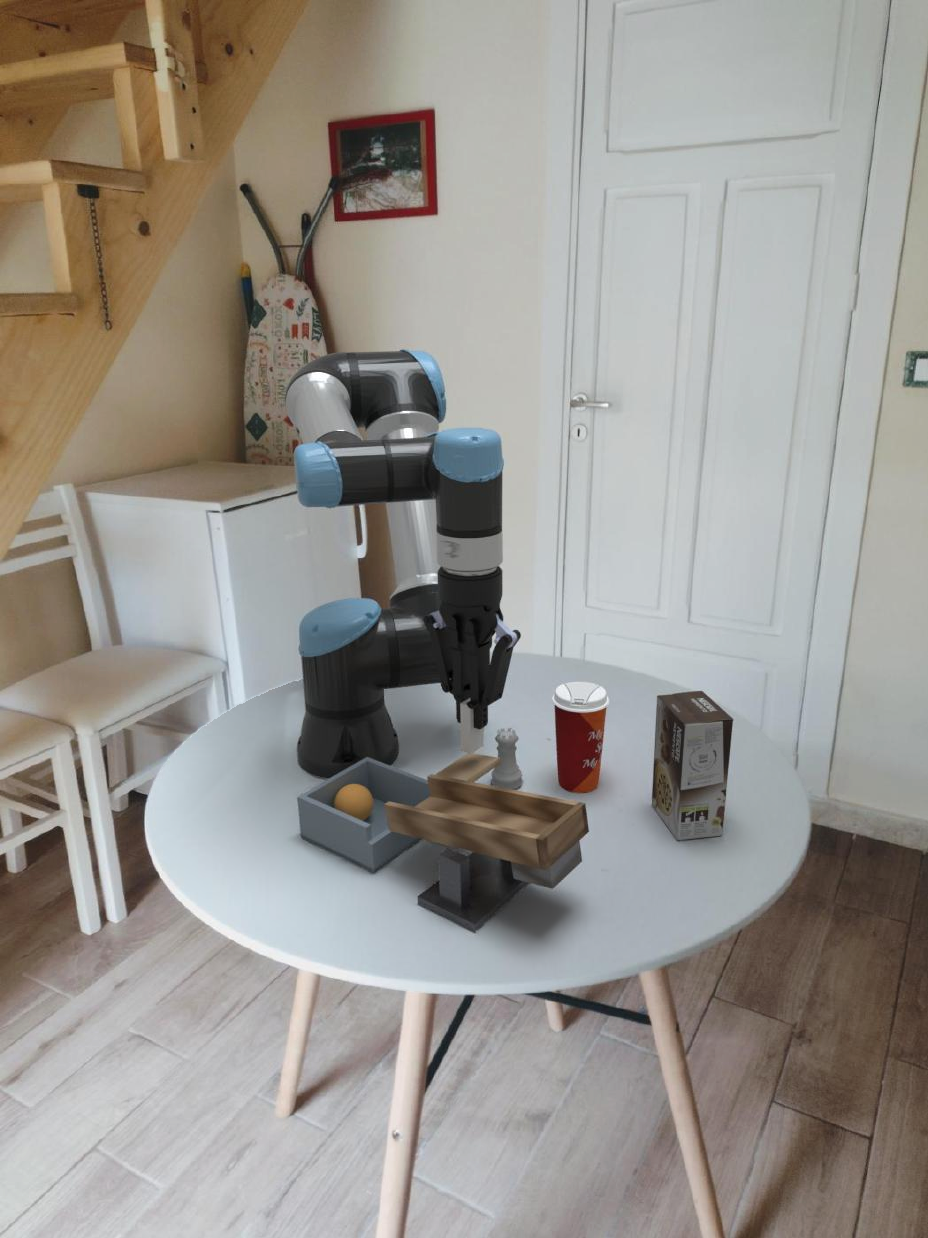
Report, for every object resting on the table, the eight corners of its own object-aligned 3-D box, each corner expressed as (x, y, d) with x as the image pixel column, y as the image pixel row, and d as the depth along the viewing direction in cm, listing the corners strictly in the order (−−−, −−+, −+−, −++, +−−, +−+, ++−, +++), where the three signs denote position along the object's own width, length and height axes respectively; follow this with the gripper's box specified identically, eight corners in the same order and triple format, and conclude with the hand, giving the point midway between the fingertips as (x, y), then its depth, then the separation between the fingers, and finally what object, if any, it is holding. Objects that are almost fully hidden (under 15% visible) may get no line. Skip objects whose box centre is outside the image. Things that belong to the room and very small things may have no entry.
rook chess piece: (513, 795, 119) (513, 742, 116) (485, 786, 121) (484, 734, 119) (528, 780, 123) (528, 729, 120) (500, 772, 125) (500, 722, 122)
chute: (622, 827, 101) (616, 776, 99) (550, 896, 89) (542, 840, 88) (472, 797, 114) (465, 752, 113) (393, 853, 103) (384, 804, 101)
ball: (320, 797, 112) (343, 790, 108) (348, 781, 115) (370, 774, 112) (336, 833, 112) (359, 827, 108) (363, 815, 115) (386, 809, 112)
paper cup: (604, 799, 118) (608, 705, 113) (547, 794, 119) (549, 701, 114) (607, 771, 125) (610, 681, 120) (553, 766, 126) (555, 677, 122)
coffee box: (724, 836, 109) (735, 719, 103) (676, 842, 108) (684, 724, 103) (694, 798, 117) (703, 688, 112) (649, 803, 116) (655, 693, 111)
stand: (417, 904, 98) (415, 850, 95) (495, 841, 109) (495, 792, 106) (474, 932, 93) (473, 876, 91) (550, 864, 104) (550, 813, 102)
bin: (301, 838, 110) (297, 796, 108) (369, 795, 120) (367, 757, 118) (374, 873, 103) (371, 830, 101) (440, 825, 112) (439, 784, 110)
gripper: (405, 564, 101) (413, 745, 109) (497, 584, 94) (497, 776, 102) (445, 550, 107) (450, 723, 115) (535, 567, 99) (533, 751, 107)
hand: (472, 748), depth 108 cm, fingers closed
